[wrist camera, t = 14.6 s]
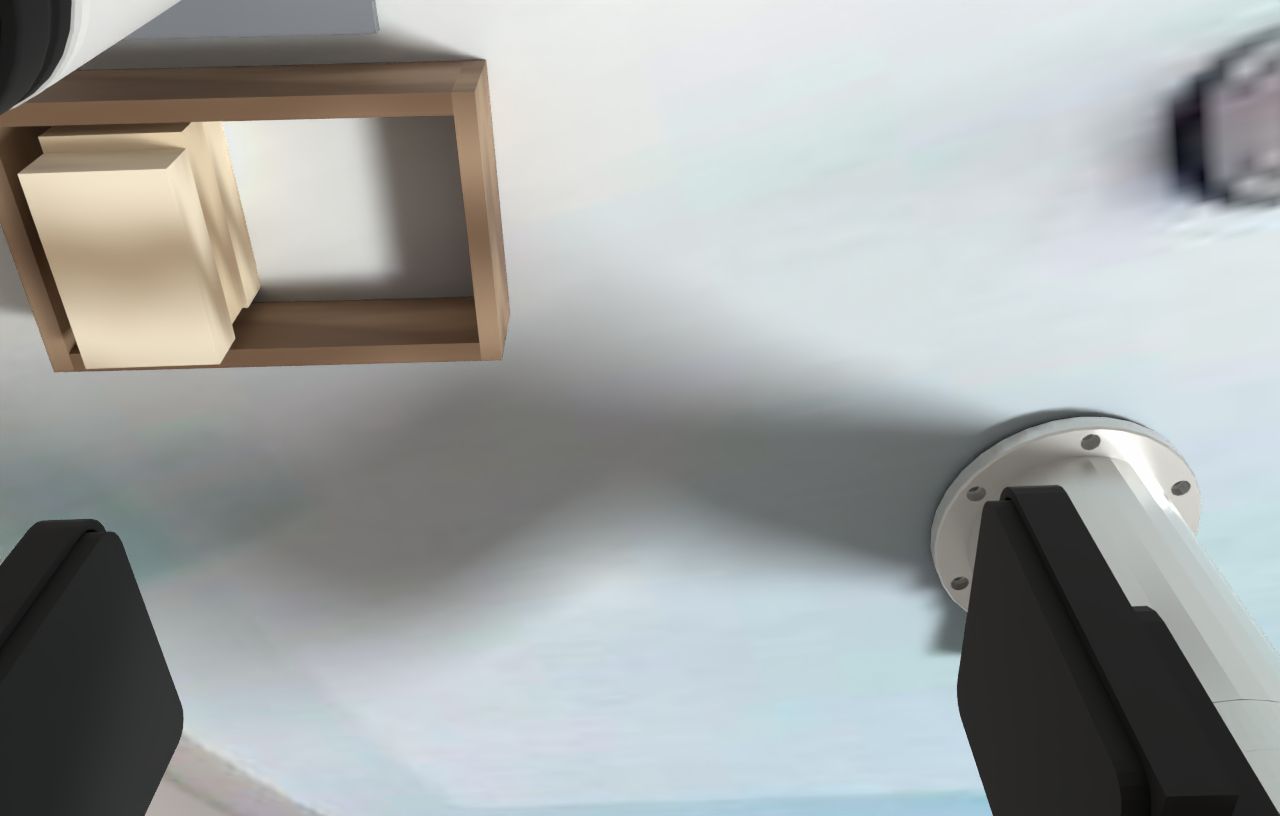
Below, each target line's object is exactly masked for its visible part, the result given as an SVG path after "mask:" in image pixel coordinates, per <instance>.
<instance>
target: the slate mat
mask: <svg viewBox="0 0 1280 816" xmlns="http://www.w3.org/2000/svg"><path fill="white" fill-rule="evenodd" d="M378 31H379V24H378V17H377V10H376V3H375V0H181V1H180V2H178V3H176V4H175V5H173V6H172V7H170V8H169V9H167V10H166V11H164V12H163V13H161V14H160V15H158V16H157V17H155V18H154V19H152V20H151V21H149V22H148V23H146V24H144V25H143V26H141V27H140V28H138V29H137V30H135V31H134V32H132V33H131V34H129V35H128V36H126V37H125V38H123V39H122V40H147V39H186V38H226V37H265V36H305V35H345V34H376V33H377V32H378Z"/></svg>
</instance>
